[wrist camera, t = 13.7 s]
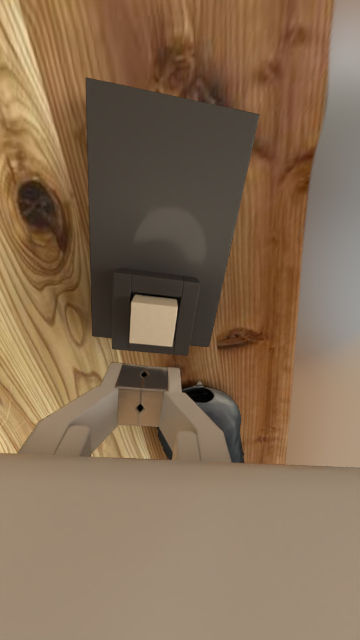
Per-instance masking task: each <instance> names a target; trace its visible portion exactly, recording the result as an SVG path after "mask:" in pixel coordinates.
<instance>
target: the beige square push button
mask: <svg viewBox="0 0 360 640" xmlns="http://www.w3.org/2000/svg"><path fill="white" fill-rule="evenodd" d="M177 310H178V305H177V299H171V298H162V297H154V296H145V295H135V296H134V298H133V300H132V302H131V316H130V336H129V343H136V344H147V345H157V346H168V347H172V346H173V339H174V332H175V324H176V317H177Z"/></svg>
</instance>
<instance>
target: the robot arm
mask: <svg viewBox="0 0 360 640" xmlns="http://www.w3.org/2000/svg"><path fill="white" fill-rule="evenodd" d="M117 425H141V426H153V427H159V428H160V430H161V432H162V434H163V436H164V437H165V439H166V441H167V443H168V445H169V446H170V448H171V450H172V452H173V456H172V460H159V459H134V458H109V457H91V453H92V452H93V451H94V450H95V449H96V448H97V447H98V446H99V445H100V444H101V443H102V442H103V441H104V439H105V438H106V437H107V436H108V435H109V434H110V433H111V432H112V431H113V430H114V429H115V428H116V427H117ZM0 640H360V468H355V467H330V466H305V465H281V464H255V463H232V462H231V459H230V455H229V451H228V448H227V444H226V440H225V437H224V433H223V431H222V430H221V429H220V428H219V427H218V426H217V425H216V424H215V423H214V422H213V421H212V420H211V419H210V418H209V417H208V416H207V415H206V414H205V413H204V412H203V411H202V410H201V409H200V408H199V407H198V406H197V404H196V403H195V402H194V401H193V400H192V399H191V398H190V397H189V396H188V395H187V394H186V393H182V388H181V377H180V369H179V368H173V367H153V366H144V365H134V364H125V363H113V362H112V363H110V365H109V367H108V369H107V372H106V374H105V376H104V378H103V381H102V383H101V385H100V387H98V386H96V387H94V388H93V389H91V390H90V391H88V392H86V393H85V394H83V395H81V396H80V397H78V398H77V399H75V400H73V401H72V402H70V403H68V404H67V405H65V406H63V407H62V408H60V409H59V410H57V411H55V412H54V413H52V414H50V415H49V416H47V417H46V418H44V419H42V420H41V421H39V422H38V424H37V425H36V427H35V428H34V430H33V431H32V433H31V434H30V436H29V437H28V438H27V440H26V441H25V443H24V444H23V446H22V447H21V449H20V450H19V452H18V453H17V454H10V453H0Z"/></svg>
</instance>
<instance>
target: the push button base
mask: <svg viewBox="0 0 360 640" xmlns="http://www.w3.org/2000/svg"><path fill="white" fill-rule="evenodd" d="M86 114H87V152H88V191H89V230H90V269H91V307H92V336H96V337H106V338H112V349H118V350H128V351H139V352H150V353H162V354H175V355H186V356H187V355H188V352H189V346H190V345H191V346H202V347H209V345H210V340H211V335H212V331H213V326H214V322H215V317H216V312H217V308H218V303H219V299H220V294H221V289H222V285H223V280H224V276H225V271H226V266H227V262H228V257H229V253H230V248H231V243H232V239H233V234H234V230H235V225H236V220H237V216H238V211H239V207H240V202H241V197H242V193H243V188H244V184H245V179H246V174H247V170H248V165H249V161H250V156H251V151H252V147H253V142H254V138H255V133H256V128H257V124H258V119H259V114H256V113H251V112H246V111H242V110H237V109H232V108H228V107H223V106H218V105H213V104H209V103H204V102H199V101H195V100H190V99H185V98H180V97H176V96H171V95H166V94H162V93H157V92H152V91H148V90H143V89H138V88H133V87H129V86H124V85H119V84H115V83H110V82H105V81H100V80H96V79H91V78H86ZM135 295H145V296H154V297H162V298H171V299H177V305H178V310H177V317H176V324H175V332H174V339H173V346H172V347H168V346H157V345H147V344H136V343H129V336H130V316H131V302H132V300H133V298H134V296H135Z"/></svg>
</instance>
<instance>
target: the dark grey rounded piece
mask: <svg viewBox="0 0 360 640" xmlns="http://www.w3.org/2000/svg"><path fill="white" fill-rule="evenodd" d="M182 393H186V394H187V395H188V396H189V397H190V398H191V399H192V400H193V401H194V402H195V403H196V404H197V406H198V407H199V408H200V409H201V410H202V411H203V412H204V413H205V414H206V415H207V416H208V417H209V418H210V419H211V420H212V421H213V422H214V423H215V424H216V425H217V426H218V427H219V428H220V429H221V430H222V431H223V433H224V437H225V440H226V444H227V448H228V451H229V455H230V459H231V462H232V463H244V458H243V456H244V453H243V451H242V443H241V438H240V424H241V415H240V411H239V408H238V406H237V405H236V403H235V402H234V401H233V400H232V398H231V397H230V396H228V395H227V394H225V393H224V392H222V391H220V390H217V389H213V388H208V387H204V386H203V385H202V383H201V381H200V382H198V383H197V385H195V386H192V387H188V388H185V389H183V390H182ZM157 429H158V437H159V440H160V442H161V445H162V447H163V450H164V452H165V453H166V455H167V457H168V459H169V460H172V456H173V452H172V450H171V448H170V446H169V445H168V443H167V441H166V439H165V437H164V436H163V434H162V432H161V430H160V428H159V427H157Z"/></svg>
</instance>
